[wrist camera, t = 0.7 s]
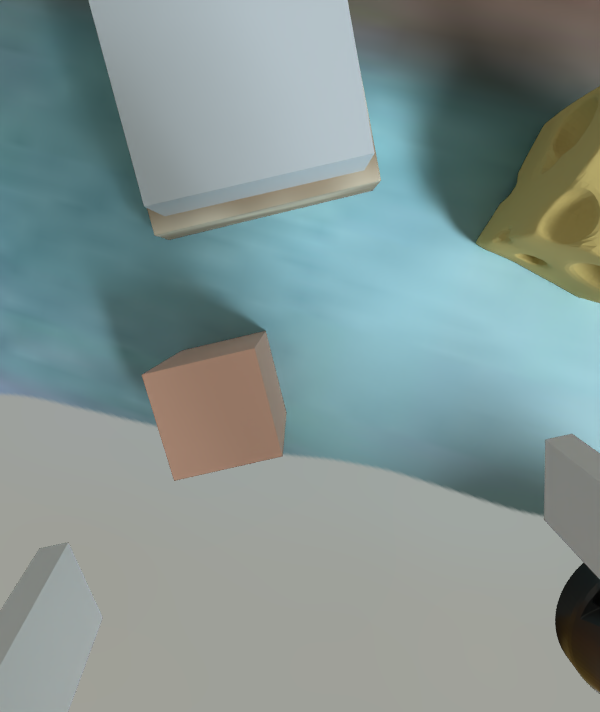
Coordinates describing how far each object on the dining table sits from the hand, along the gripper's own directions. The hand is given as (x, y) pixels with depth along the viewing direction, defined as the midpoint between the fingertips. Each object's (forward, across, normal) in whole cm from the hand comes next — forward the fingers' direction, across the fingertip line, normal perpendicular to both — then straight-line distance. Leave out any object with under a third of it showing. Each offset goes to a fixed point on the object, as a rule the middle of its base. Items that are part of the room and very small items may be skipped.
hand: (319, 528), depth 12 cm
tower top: (+23, -1, -16) cm, 28 cm away
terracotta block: (+23, +4, +4) cm, 24 cm away
